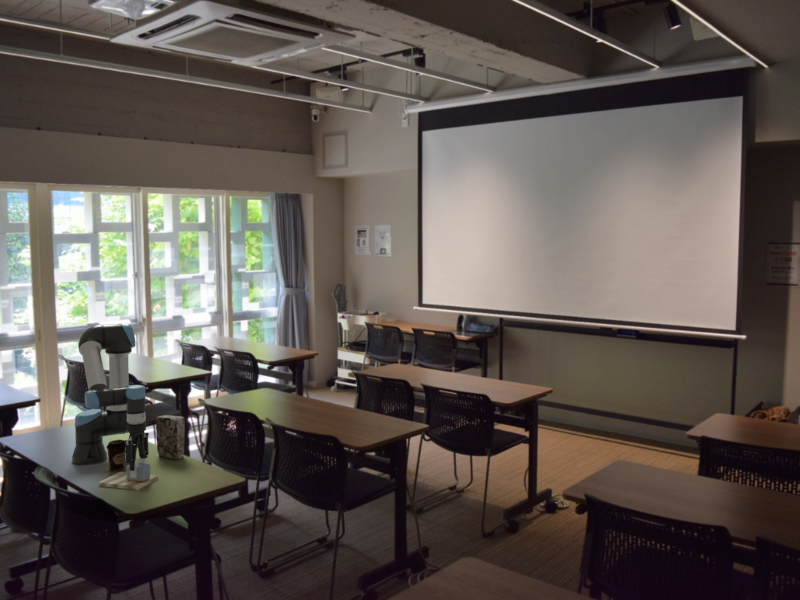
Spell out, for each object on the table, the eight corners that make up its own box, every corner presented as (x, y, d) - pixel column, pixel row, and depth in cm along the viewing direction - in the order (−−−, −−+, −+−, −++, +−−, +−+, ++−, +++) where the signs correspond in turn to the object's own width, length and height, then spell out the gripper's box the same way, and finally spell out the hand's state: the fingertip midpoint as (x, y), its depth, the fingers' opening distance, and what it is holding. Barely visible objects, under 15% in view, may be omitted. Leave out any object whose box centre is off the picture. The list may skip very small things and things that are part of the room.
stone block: (186, 456, 324) (185, 415, 323) (178, 460, 318) (177, 419, 316) (163, 454, 328) (162, 413, 327) (154, 458, 321) (153, 417, 320)
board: (98, 485, 284) (98, 482, 284) (120, 475, 298) (120, 471, 297) (138, 490, 279) (138, 486, 279) (158, 478, 293) (157, 475, 293)
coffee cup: (131, 467, 307) (130, 440, 306) (118, 473, 300) (117, 445, 299) (116, 465, 310) (115, 438, 309) (103, 471, 302) (102, 443, 301)
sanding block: (126, 480, 286) (126, 466, 285) (134, 476, 291) (133, 462, 290) (143, 481, 284) (142, 467, 283) (150, 477, 289) (149, 464, 288)
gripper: (130, 428, 276) (132, 483, 278) (156, 417, 293) (158, 469, 295) (114, 426, 278) (116, 481, 279) (141, 416, 295) (143, 467, 297)
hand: (137, 475), depth 287 cm, fingers closed on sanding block, 5 cm apart
